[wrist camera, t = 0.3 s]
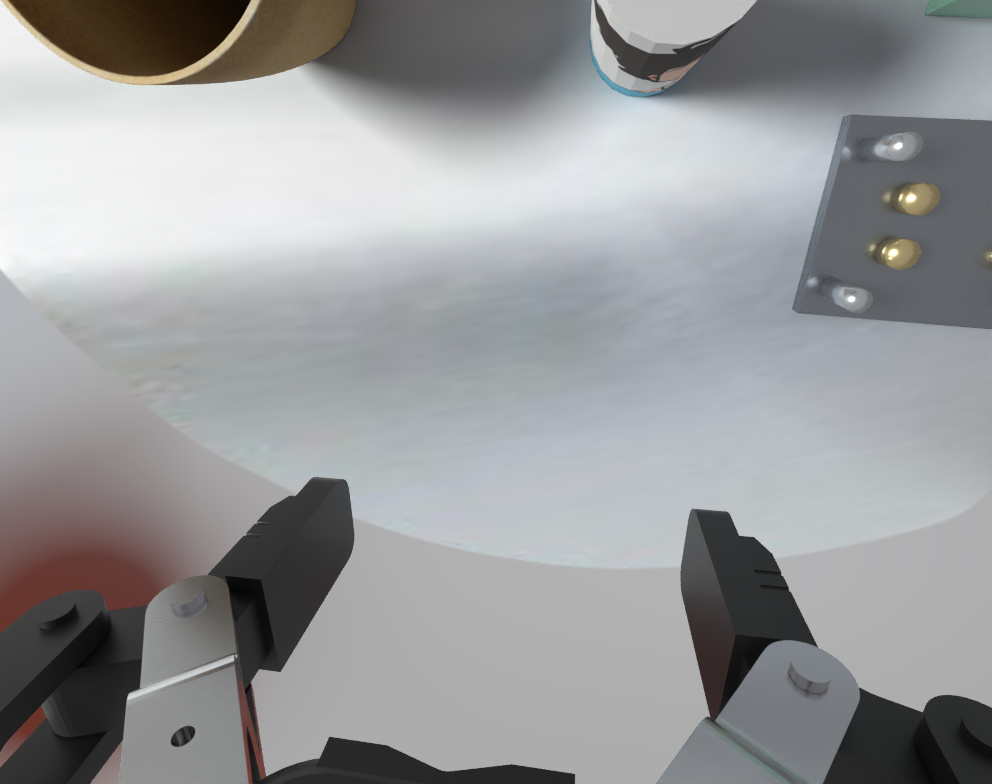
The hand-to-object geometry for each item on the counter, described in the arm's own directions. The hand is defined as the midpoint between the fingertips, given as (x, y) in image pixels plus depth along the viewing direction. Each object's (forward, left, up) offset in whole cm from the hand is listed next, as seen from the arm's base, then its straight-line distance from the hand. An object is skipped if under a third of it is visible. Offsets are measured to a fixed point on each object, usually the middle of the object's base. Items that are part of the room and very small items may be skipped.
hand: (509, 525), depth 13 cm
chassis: (-6, +24, -29) cm, 38 cm away
